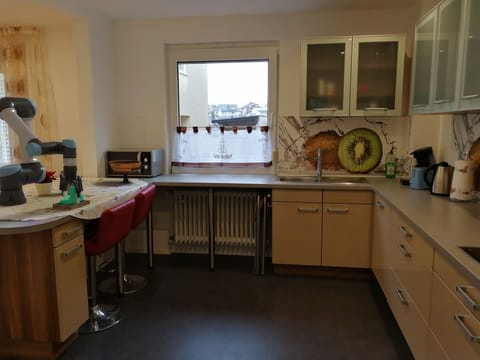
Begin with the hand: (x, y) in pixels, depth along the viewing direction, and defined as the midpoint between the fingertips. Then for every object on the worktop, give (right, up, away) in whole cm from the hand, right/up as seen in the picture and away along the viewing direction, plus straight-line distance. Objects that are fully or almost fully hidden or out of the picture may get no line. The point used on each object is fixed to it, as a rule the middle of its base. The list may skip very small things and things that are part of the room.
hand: (71, 202), depth 225 cm
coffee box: (-18, +4, +37) cm, 42 cm away
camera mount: (0, -1, 0) cm, 1 cm away
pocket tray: (0, -2, 0) cm, 2 cm away
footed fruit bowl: (+6, +11, +86) cm, 87 cm away
